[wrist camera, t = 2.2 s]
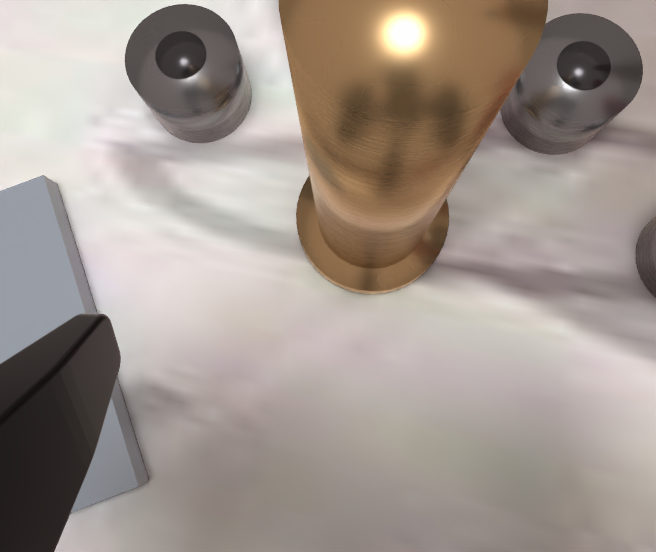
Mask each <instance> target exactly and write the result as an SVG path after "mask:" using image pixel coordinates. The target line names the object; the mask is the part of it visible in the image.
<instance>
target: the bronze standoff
mask: <svg viewBox="0 0 656 552" xmlns="http://www.w3.org/2000/svg"><path fill="white" fill-rule="evenodd" d="M547 11H548V0H279V12H280V18H281V24H282V29H283V35H284V40H285V45H286V51H287V56H288V61H289V67H290V72H291V78H292V83H293V88H294V94H295V99H296V105H297V110H298V115H299V121H300V126H301V132H302V137H303V142H304V148H305V153H306V158H307V164H308V169H309V177H308V178H307V180H306V182H305V184H304V186H303V188H302V190H301V193H300V196H299V200H298V204H297V213H296V219H297V229H298V234H299V237H300V240H301V244H302V246H303V249H304V251H305V253H306V255H307V257H308V259H309V260H310V262H311V264H312V265H313V266H314V267H315V269H316V270H317V271H318V272H319V273H320V274H321V275H322V276H323V277H324V278H326V279H327V280H328V281H330V282H331V283H333V284H335V285H337V286H338V287H340V288H343V289H345V290H348V291H351V292H356V293H360V294H382V293H388V292H392V291H395V290H398V289H400V288H403V287H405V286H407V285H409V284H410V283H412V282H413V281H415V280H416V279H417V278H419V277H420V276H421V275H422V274H423V273H424V272H425V271H426V270H427V269H428V268H429V267H430V265H431V264H432V263H433V262H434V260H435V259H436V257H437V256H438V254H439V253H440V251H441V249H442V247H443V245H444V242H445V239H446V236H447V231H448V225H449V211H448V204H447V199H446V198H447V197H448V195H449V193H450V192H451V190H452V188H453V187H454V185H455V183H456V182H457V180H458V178H459V177H460V175H461V173H462V172H463V170H464V168H465V167H466V165H467V163H468V162H469V160H470V158H471V157H472V155H473V153H474V152H475V150H476V148H477V147H478V145H479V143H480V142H481V140H482V138H483V137H484V135H485V133H486V132H487V130H488V129H489V127H490V125H491V124H492V122H493V120H494V119H495V117H496V115H497V114H498V112H499V110H500V109H501V107H502V105H503V104H504V102H505V100H506V99H507V97H508V95H509V94H510V92H511V90H512V89H513V87H514V85H515V84H516V82H517V80H518V79H519V77H520V75H521V74H522V72H523V70H524V69H525V67H526V65H527V64H528V62H529V60H530V59H531V57H532V55H533V53H534V51H535V49H536V48H537V46H538V44H539V42H540V39H541V36H542V33H543V30H544V27H545V22H546V16H547Z"/></svg>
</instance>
